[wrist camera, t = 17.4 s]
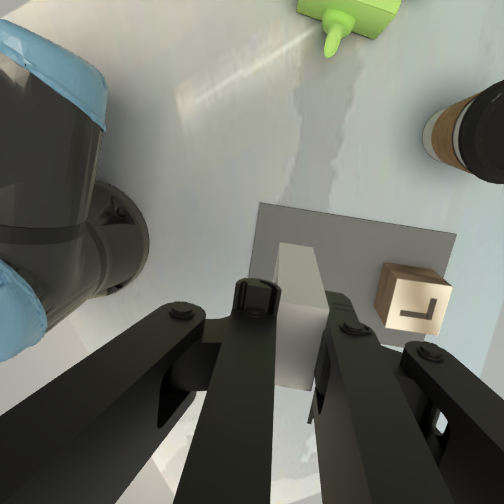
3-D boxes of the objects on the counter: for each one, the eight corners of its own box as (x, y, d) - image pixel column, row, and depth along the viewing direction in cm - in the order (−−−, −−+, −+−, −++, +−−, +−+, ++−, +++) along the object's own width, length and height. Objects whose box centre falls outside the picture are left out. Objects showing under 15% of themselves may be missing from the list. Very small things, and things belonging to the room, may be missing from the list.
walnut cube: (438, 335, 43) (420, 312, 49) (453, 286, 41) (432, 269, 47) (385, 327, 43) (373, 305, 49) (397, 278, 42) (383, 262, 47)
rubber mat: (242, 318, 52) (242, 319, 51) (260, 202, 47) (260, 203, 47) (419, 349, 51) (420, 350, 50) (455, 234, 46) (456, 234, 46)
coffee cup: (493, 160, 43) (597, 169, 29) (418, 182, 45) (481, 201, 30) (482, 84, 41) (587, 53, 27) (403, 109, 43) (463, 93, 28)
